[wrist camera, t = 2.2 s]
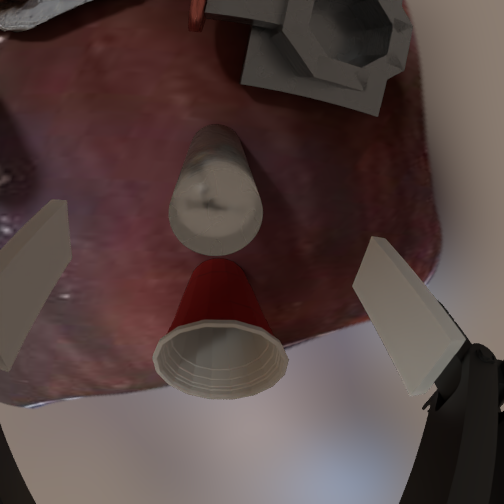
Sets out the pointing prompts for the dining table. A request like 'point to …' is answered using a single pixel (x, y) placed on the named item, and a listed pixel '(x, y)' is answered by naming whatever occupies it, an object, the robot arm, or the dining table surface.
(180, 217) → the pipe stub
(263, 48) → the valve body
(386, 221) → the dining table surface
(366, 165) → the dining table surface
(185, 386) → the plastic cup
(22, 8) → the food plate
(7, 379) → the dining table surface
